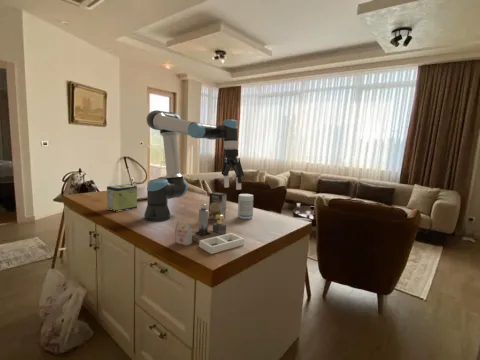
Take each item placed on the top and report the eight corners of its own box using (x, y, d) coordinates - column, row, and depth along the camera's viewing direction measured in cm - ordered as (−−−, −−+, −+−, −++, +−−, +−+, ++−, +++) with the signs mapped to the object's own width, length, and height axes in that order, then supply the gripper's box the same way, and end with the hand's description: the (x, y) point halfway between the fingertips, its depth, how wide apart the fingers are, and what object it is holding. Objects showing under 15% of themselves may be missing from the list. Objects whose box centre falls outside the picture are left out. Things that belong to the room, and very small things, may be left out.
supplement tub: (255, 218, 171) (256, 195, 169) (243, 220, 165) (244, 197, 163) (246, 214, 179) (247, 193, 177) (234, 216, 173) (235, 194, 171)
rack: (199, 246, 121) (199, 240, 120) (231, 238, 133) (231, 232, 132) (211, 253, 114) (211, 247, 113) (243, 244, 126) (244, 238, 125)
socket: (186, 236, 134) (186, 226, 133) (216, 229, 145) (216, 220, 145) (198, 243, 124) (199, 233, 124) (230, 236, 136) (230, 226, 136)
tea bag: (180, 240, 128) (180, 220, 126) (191, 243, 125) (192, 222, 123) (175, 242, 124) (175, 222, 123) (187, 245, 122) (187, 224, 120)
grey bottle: (196, 236, 133) (197, 203, 131) (204, 235, 136) (205, 202, 134) (201, 239, 130) (202, 205, 127) (209, 237, 133) (210, 204, 130)
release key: (213, 226, 139) (213, 214, 138) (220, 225, 142) (220, 213, 141) (218, 229, 136) (218, 216, 135) (225, 227, 139) (225, 215, 138)
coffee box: (208, 218, 165) (208, 193, 163) (213, 216, 171) (214, 191, 169) (221, 221, 162) (222, 195, 159) (226, 218, 167) (227, 193, 165)
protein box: (137, 208, 182) (137, 185, 180) (116, 212, 169) (115, 188, 167) (127, 205, 187) (127, 183, 185) (106, 209, 174) (106, 186, 172)
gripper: (249, 148, 135) (250, 189, 137) (226, 149, 156) (227, 185, 158) (236, 148, 131) (238, 191, 133) (214, 150, 152) (216, 187, 154)
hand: (232, 188), depth 145 cm, fingers open, 13 cm apart
